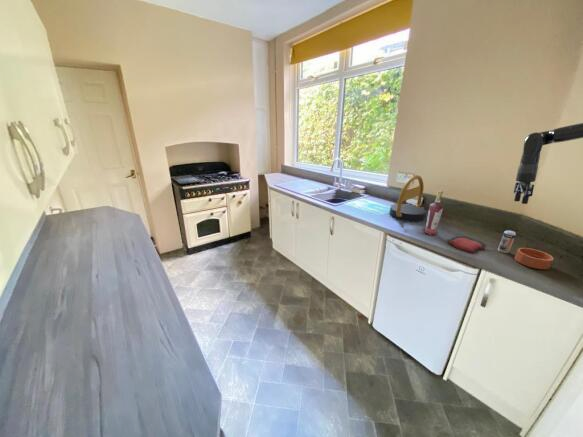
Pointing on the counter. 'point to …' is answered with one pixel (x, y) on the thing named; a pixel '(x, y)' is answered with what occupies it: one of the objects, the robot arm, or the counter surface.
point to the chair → (409, 211)
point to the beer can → (506, 241)
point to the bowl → (533, 258)
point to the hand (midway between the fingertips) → (520, 202)
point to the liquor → (434, 215)
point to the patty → (466, 245)
